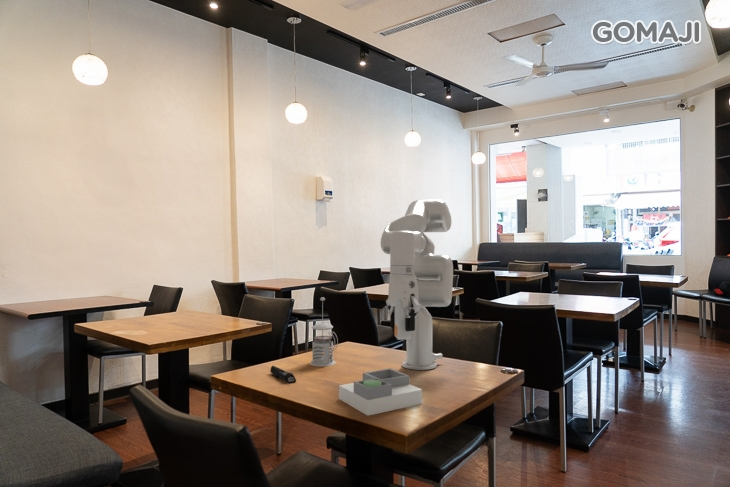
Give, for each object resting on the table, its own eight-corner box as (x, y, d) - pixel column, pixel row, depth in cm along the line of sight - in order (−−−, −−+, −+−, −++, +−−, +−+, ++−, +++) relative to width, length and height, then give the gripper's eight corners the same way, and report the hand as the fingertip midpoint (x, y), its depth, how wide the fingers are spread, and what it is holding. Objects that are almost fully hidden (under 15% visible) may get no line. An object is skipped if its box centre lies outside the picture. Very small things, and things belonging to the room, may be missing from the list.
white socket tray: (390, 389, 150) (390, 366, 150) (422, 403, 137) (422, 378, 137) (339, 399, 141) (339, 374, 141) (367, 415, 127) (367, 389, 127)
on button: (375, 388, 136) (375, 378, 136) (385, 392, 132) (385, 383, 132) (360, 391, 134) (360, 381, 134) (369, 395, 129) (369, 385, 129)
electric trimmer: (278, 373, 171) (277, 364, 171) (297, 383, 158) (297, 373, 158) (267, 375, 169) (267, 365, 169) (286, 385, 156) (286, 375, 156)
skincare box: (394, 336, 151) (394, 297, 152) (407, 336, 152) (407, 297, 152) (397, 339, 145) (397, 299, 145) (411, 339, 146) (411, 299, 146)
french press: (321, 358, 190) (321, 295, 190) (344, 363, 184) (344, 297, 184) (304, 364, 182) (304, 297, 183) (327, 368, 176) (327, 299, 176)
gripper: (430, 271, 143) (430, 332, 143) (395, 269, 158) (395, 324, 158) (409, 272, 139) (409, 334, 139) (376, 270, 154) (376, 326, 154)
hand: (402, 328), depth 149 cm, fingers closed on skincare box, 7 cm apart
